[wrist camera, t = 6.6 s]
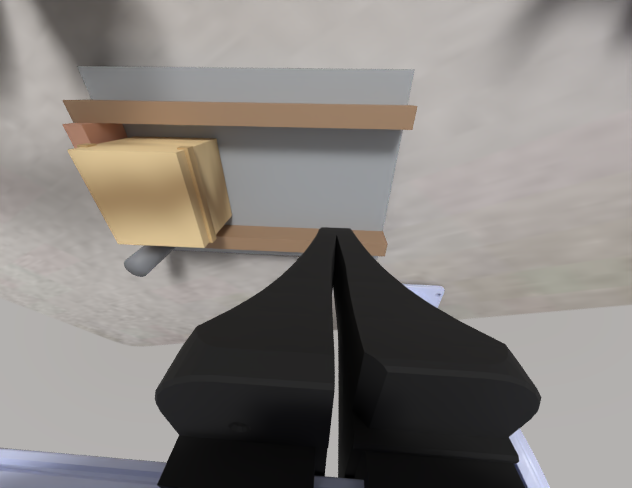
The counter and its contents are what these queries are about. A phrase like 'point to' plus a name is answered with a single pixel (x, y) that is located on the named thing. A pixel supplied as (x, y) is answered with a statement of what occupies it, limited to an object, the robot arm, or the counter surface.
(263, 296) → the robot arm
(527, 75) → the counter surface
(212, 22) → the counter surface
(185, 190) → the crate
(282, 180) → the bay
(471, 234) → the counter surface
